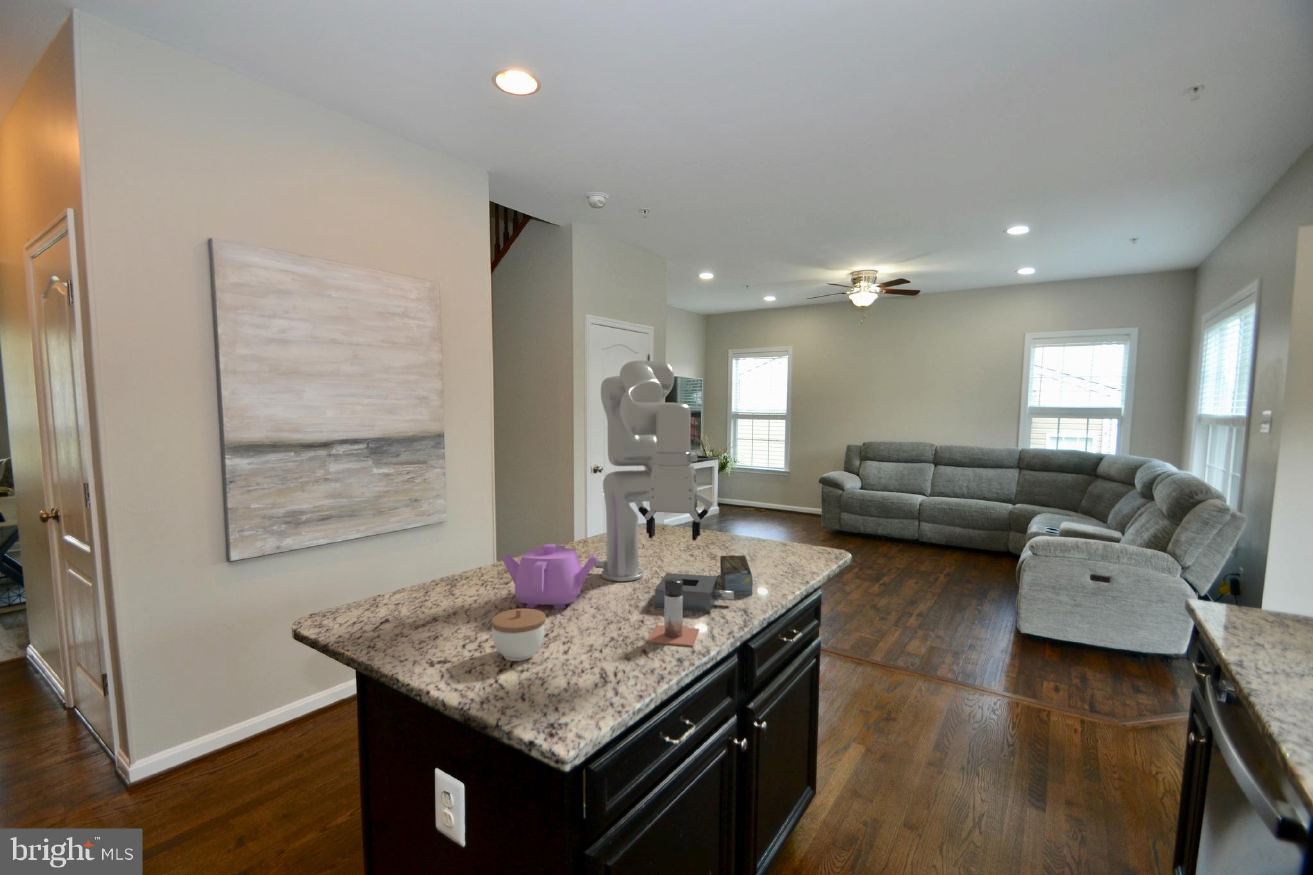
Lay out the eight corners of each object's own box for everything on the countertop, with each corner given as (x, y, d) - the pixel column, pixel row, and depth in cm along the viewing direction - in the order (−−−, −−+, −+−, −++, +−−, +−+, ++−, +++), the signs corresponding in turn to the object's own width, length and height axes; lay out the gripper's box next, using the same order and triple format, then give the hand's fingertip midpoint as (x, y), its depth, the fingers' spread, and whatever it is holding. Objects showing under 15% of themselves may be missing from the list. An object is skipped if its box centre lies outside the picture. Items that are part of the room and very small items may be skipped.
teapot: (600, 602, 146) (599, 545, 146) (538, 620, 134) (537, 557, 133) (559, 585, 161) (559, 533, 160) (500, 600, 148) (499, 543, 148)
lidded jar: (524, 639, 123) (523, 597, 123) (556, 652, 116) (556, 608, 116) (481, 656, 115) (480, 610, 114) (513, 671, 108) (512, 623, 108)
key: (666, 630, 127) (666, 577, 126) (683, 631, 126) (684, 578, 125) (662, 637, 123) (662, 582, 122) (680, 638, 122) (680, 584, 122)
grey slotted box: (655, 608, 142) (655, 588, 142) (666, 590, 156) (666, 573, 155) (730, 614, 138) (730, 594, 137) (736, 595, 151) (736, 577, 151)
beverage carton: (723, 595, 152) (723, 571, 152) (719, 575, 171) (719, 553, 171) (753, 596, 152) (753, 571, 151) (745, 575, 171) (746, 553, 171)
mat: (646, 642, 121) (646, 640, 121) (656, 626, 130) (656, 624, 130) (692, 646, 119) (692, 644, 119) (699, 630, 128) (699, 628, 128)
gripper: (715, 459, 124) (714, 536, 125) (639, 457, 128) (639, 532, 129) (710, 462, 117) (710, 544, 118) (630, 461, 121) (630, 539, 122)
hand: (673, 537), depth 124 cm, fingers open, 9 cm apart
